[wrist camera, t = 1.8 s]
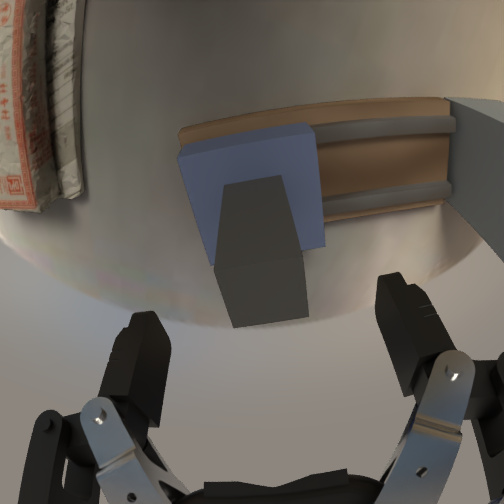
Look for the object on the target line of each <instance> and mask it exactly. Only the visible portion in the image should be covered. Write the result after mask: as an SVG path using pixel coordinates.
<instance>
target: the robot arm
mask: <svg viewBox="0 0 504 504" xmlns="http://www.w3.org/2000/svg"><path fill="white" fill-rule="evenodd" d="M375 315H376V319H377V323H378V326H379V328H380V331H381V333H382V336H383V339H384V341H385V344H386V347H387V349H388V352H389V355H390V358H391V360H392V363H393V366H394V369H395V372H396V375H397V378H398V381H399V384H400V386H401V390H402V393H403V395H404V397H406V396H410V395H413V394H414V397H415V400H416V404H415V406H414V409H413V411H412V414H411V416H410V418H409V421H408V423H407V425H406V427H405V430H404V432H403V434H402V436H401V439H400V441H399V443H398V445H397V447H396V449H395V451H394V453H393V455H392V457H391V458H390V460H389V462H388V464H387V466H386V468H385V470H384V471H383V473H382V475H381V477H380V479H379V481H377V480H375V479H372V478H369V477H365V476H360V475H351V474H349V475H348V474H347V469H341V470H336V471H331V472H325V473H320V474H313V475H309V476H307V477H304V478H301V479H298V480H296V481H293V482H290V483H287V484H284V485H281V486H278V487H267V486H260V485H254V484H248V483H243V482H204V489H200V490H197V491H194V492H192V493H190V492H189V490H188V489H187V488H186V487H185V486H184V484H183V483H182V482H181V481H180V480H178V479H177V477H176V476H175V475H174V474H173V473H172V471H171V470H170V468H169V467H168V465H167V464H166V463H165V461H164V460H163V458H162V457H161V455H160V453H159V452H158V450H157V449H156V447H155V446H154V444H153V442H152V441H151V439H150V438H149V437H148V435H147V434H148V427H158V428H159V426H160V418H161V412H162V405H163V398H164V392H165V386H166V380H167V374H168V367H169V362H170V357H171V342H170V339H169V336H168V335H167V333H166V331H165V329H164V327H163V326H162V324H161V322H160V320H159V318H158V316H157V315H156V313H155V312H154V311H145V312H137V313H133V315H132V317H131V320H130V323H129V326H128V327H127V328H123V329H122V331H121V332H120V333H119V335H118V336H117V337H116V339H115V342H114V345H113V348H112V352H111V354H110V358H109V362H108V364H107V367H106V370H105V374H104V377H103V381H102V384H101V387H100V391H99V394H98V397H96V398H94V399H92V400H90V401H88V402H87V403H86V404H85V406H84V407H83V409H82V411H81V412H80V413H76V414H72V415H68V416H64V417H63V416H62V415H60V414H59V413H58V412H57V411H55V410H47V411H44V412H43V413H41V414H40V415H39V417H38V418H37V420H36V422H35V425H34V428H33V433H32V436H31V440H30V444H29V448H28V453H27V457H26V462H25V467H24V471H23V477H22V482H21V488H20V494H19V500H18V504H99V497H100V487H101V489H102V491H103V493H104V495H105V497H106V499H107V501H108V503H109V504H437V502H438V500H439V498H440V496H441V493H442V491H443V489H444V487H445V484H446V482H447V479H448V477H449V475H450V472H451V469H452V467H453V464H454V461H455V458H456V456H457V453H458V450H459V447H460V444H461V441H462V433H461V432H460V430H461V425H462V422H463V420H471V423H472V426H473V429H474V433H475V436H476V440H477V443H478V447H479V451H480V454H481V459H482V463H483V467H484V471H485V476H486V480H487V485H488V490H489V495H490V500H491V501H490V503H488V504H504V352H503V353H502V354H501V355H500V356H499V358H498V360H481V361H478V360H472V359H471V358H470V357H469V356H468V355H467V354H465V353H464V352H461V351H458V350H457V349H456V348H455V346H454V344H453V342H452V340H451V338H450V336H449V334H448V332H447V330H446V328H445V327H444V325H443V323H442V321H441V319H440V317H439V315H437V312H436V310H435V308H434V307H433V306H432V303H431V301H430V299H429V298H428V296H427V294H426V293H425V292H424V291H423V290H422V289H421V288H420V287H418V286H417V285H416V284H410V285H407V284H406V282H405V280H404V278H403V276H402V275H401V273H400V272H395V273H390V274H385V275H380V276H379V277H378V280H377V291H376V301H375ZM65 459H68V465H67V471H66V477H65V484H64V489H63V487H62V475H63V470H64V464H65Z"/></svg>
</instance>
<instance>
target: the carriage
mask: <svg viewBox="0 0 504 504" xmlns="http://www.w3.org/2000/svg"><path fill="white" fill-rule="evenodd" d="M177 161H178V164H179V167H180V171H181V174H182V177H183V180H184V184H185V187H186V190H187V193H188V197H189V200H190V203H191V206H192V209H193V213H194V216H195V219H196V222H197V225H198V228H199V231H200V234H201V237H202V241H203V244H204V247H205V250H206V253H207V256H208V259H209V262H210V265H211V266H212V265H214V273H215V276H216V279H217V282H218V285H219V288H220V291H221V294H222V296H223V299H224V302H225V305H226V308H227V311H228V314H229V317H230V319H231V322H232V325H233V328H238V327H246V326H253V325H260V324H267V323H273V322H280V321H286V320H292V319H298V318H304V317H309V311H308V300H307V290H306V280H305V271H304V262H303V255H302V251H303V250H308V249H314V248H320V247H325V233H324V220H323V207H322V196H321V185H320V175H319V165H318V156H317V147H316V139H315V132H314V131H313V130H312V129H311V127H310V126H309V125H308V124H307V123H306V122H302V123H295V124H288V125H282V126H275V127H269V128H263V129H258V130H252V131H247V132H241V133H236V134H231V135H226V136H221V137H217V138H212V139H207V140H203V141H198V142H194V143H190V144H186V145H184V147H183V148H182V150H181V152H180V154H179V155H178V157H177Z"/></svg>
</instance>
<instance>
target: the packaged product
mask: <svg viewBox="0 0 504 504" xmlns="http://www.w3.org/2000/svg"><path fill="white" fill-rule="evenodd" d="M84 9H85V0H0V209H4V210H13V211H21V212H26V211H28V212H36V213H42V212H43V211H44V210H45V209H47V208H49V204H50V203H51V202H53V201H55V200H56V199H57V198H67V199H73V198H76V197H79V196H80V195H81V194H82V193H83V192H84V181H83V172H82V161H81V146H80V77H81V54H82V37H83V23H84Z"/></svg>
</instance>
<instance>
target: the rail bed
mask: <svg viewBox="0 0 504 504" xmlns="http://www.w3.org/2000/svg"><path fill="white" fill-rule="evenodd" d="M302 122H306V123H307V124H308V125H309V126H310V127H311V129H312V130H313V131H314V132H315V139H316V147H317V156H318V165H319V175H320V185H321V196H322V207H323V220H324V222H328V221H334V220H341V219H347V218H353V217H359V216H366V215H372V214H379V213H385V212H392V211H398V210H405V209H412V208H418V207H425V206H432V205H439V204H444V200H445V198H447V197H451V190H452V184H450V183H449V182H448V181H447V170H448V156H449V135H450V132H456V118H454V117H452V116H450V101H447V100H444V99H442V98H439V97H400V98H376V99H360V100H347V101H336V102H326V103H317V104H309V105H301V106H293V107H286V108H280V109H273V110H267V111H261V112H255V113H250V114H245V115H239V116H234V117H229V118H224V119H220V120H215V121H210V122H206V123H202V124H197V125H193V126H189V127H185V128H182V129H181V130H180V132H179V133H178V137H179V140H180V144H181V147H182V148H183V147H184V145H186V144H190V143H194V142H198V141H203V140H207V139H212V138H217V137H221V136H226V135H231V134H236V133H241V132H247V131H252V130H258V129H263V128H269V127H275V126H282V125H288V124H295V123H302ZM180 152H181V151H180Z"/></svg>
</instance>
